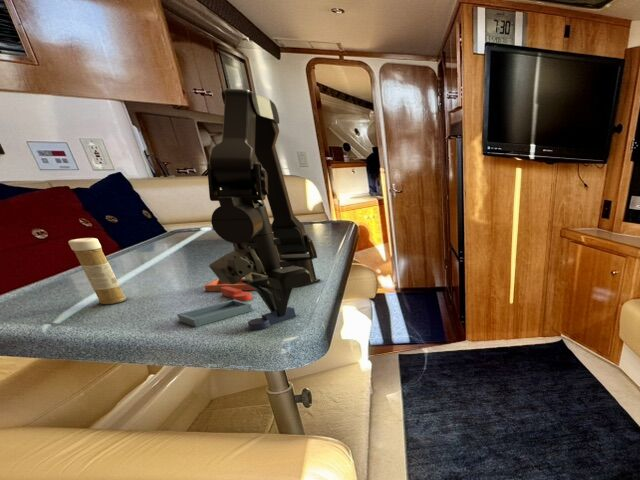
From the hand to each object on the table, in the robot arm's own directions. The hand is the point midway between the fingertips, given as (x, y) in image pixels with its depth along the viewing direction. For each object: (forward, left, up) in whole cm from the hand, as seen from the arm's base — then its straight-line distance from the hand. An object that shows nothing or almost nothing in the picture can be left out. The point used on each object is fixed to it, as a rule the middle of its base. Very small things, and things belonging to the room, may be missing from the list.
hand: (278, 315), depth 80 cm
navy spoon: (+2, 0, -1) cm, 2 cm away
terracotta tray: (-9, -30, -1) cm, 32 cm away
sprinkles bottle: (+12, -42, -1) cm, 44 cm away
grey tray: (+5, -13, -1) cm, 14 cm away
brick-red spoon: (-4, -22, -1) cm, 23 cm away
